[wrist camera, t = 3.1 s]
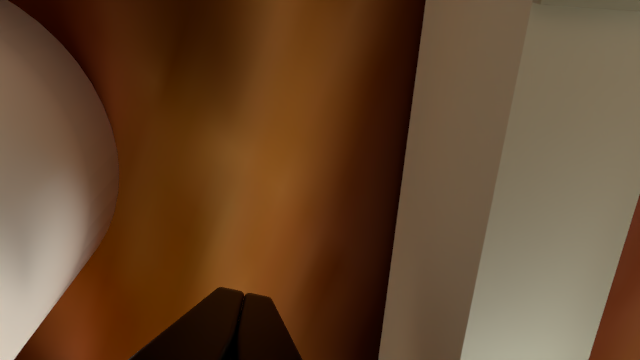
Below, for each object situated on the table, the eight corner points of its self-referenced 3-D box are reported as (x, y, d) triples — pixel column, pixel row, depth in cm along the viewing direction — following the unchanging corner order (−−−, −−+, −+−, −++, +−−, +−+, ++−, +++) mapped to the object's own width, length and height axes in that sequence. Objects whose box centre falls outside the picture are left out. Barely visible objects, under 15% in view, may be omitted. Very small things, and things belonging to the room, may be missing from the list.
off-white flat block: (428, 418, 13) (491, 700, 8) (369, 415, 13) (397, 696, 8) (518, -72, 9) (744, -93, 4) (433, -78, 9) (562, -107, 4)
